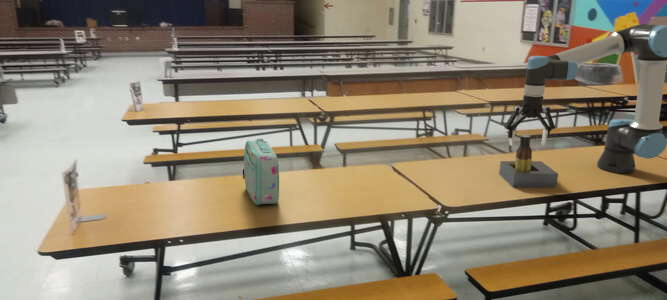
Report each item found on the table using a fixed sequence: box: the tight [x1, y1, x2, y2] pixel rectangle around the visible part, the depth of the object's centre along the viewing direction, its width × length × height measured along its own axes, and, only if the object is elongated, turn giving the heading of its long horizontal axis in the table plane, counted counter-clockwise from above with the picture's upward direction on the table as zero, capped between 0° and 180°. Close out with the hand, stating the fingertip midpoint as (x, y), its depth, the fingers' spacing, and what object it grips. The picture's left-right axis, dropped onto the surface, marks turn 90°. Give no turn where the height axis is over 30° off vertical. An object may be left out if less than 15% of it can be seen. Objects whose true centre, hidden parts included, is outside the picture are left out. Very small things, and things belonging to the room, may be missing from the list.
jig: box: [498, 160, 559, 189], centre depth 199 cm, size 18×16×6 cm
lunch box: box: [242, 138, 280, 206], centre depth 179 cm, size 27×10×21 cm, turn 21°
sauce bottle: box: [515, 134, 533, 171], centre depth 197 cm, size 7×6×20 cm
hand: (527, 145), depth 196 cm, fingers open, 13 cm apart
